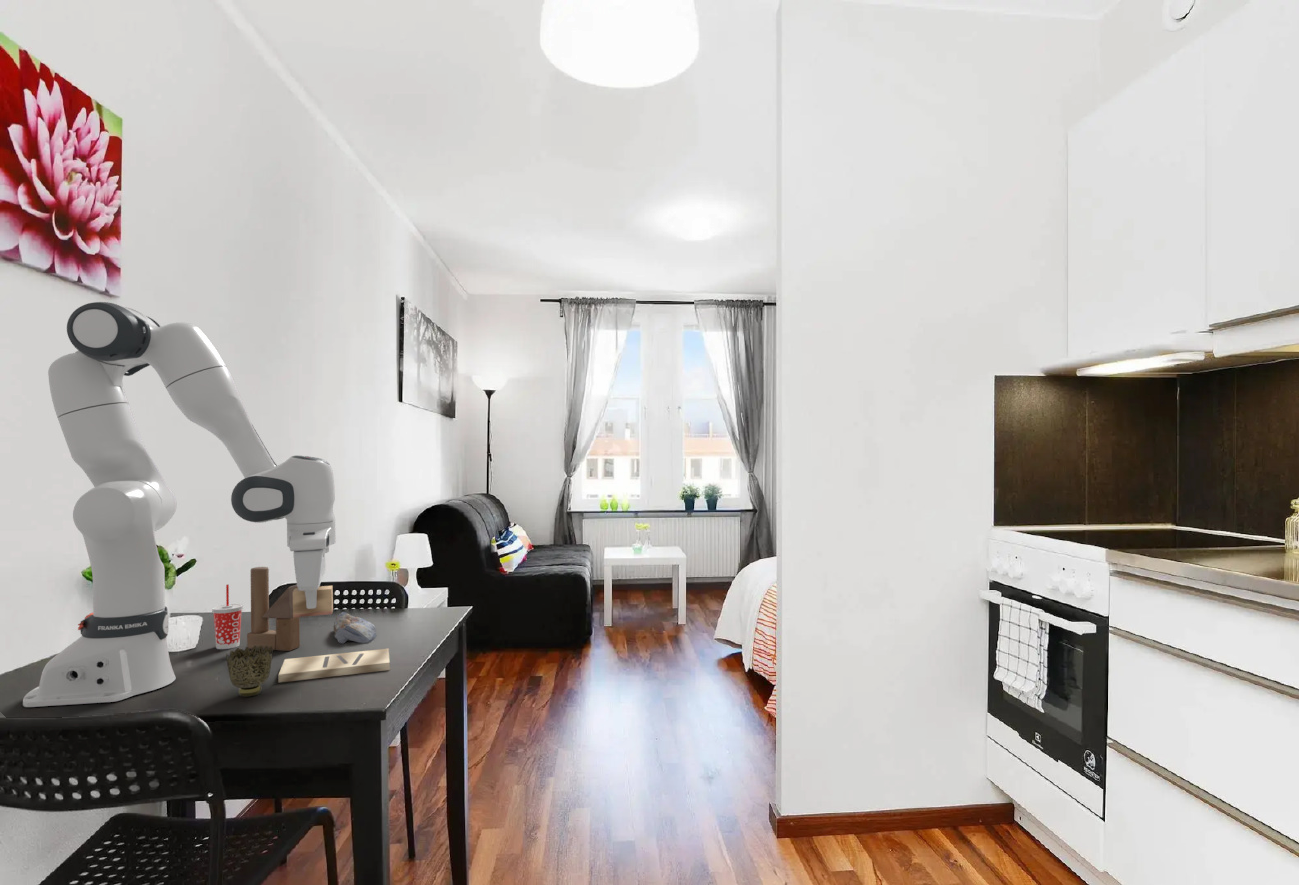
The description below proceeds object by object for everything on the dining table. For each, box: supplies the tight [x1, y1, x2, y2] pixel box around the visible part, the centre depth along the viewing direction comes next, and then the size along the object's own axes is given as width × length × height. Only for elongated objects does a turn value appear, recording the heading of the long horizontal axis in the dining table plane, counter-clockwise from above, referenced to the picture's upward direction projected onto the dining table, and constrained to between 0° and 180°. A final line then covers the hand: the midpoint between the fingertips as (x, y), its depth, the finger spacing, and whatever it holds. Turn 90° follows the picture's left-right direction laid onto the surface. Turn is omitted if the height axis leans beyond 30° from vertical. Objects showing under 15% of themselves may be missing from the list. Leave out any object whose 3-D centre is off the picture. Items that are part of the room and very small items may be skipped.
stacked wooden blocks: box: [246, 566, 301, 652], centre depth 163 cm, size 4×11×18 cm, turn 80°
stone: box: [333, 611, 377, 645], centre depth 173 cm, size 17×5×10 cm
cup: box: [225, 646, 274, 698], centre depth 132 cm, size 8×7×8 cm
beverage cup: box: [211, 584, 244, 650], centre depth 165 cm, size 6×6×14 cm
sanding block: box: [293, 585, 334, 618], centre depth 145 cm, size 7×4×5 cm, turn 111°
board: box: [277, 648, 391, 683], centre depth 147 cm, size 20×11×2 cm, turn 111°
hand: (312, 605), depth 145 cm, fingers closed on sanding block, 4 cm apart
